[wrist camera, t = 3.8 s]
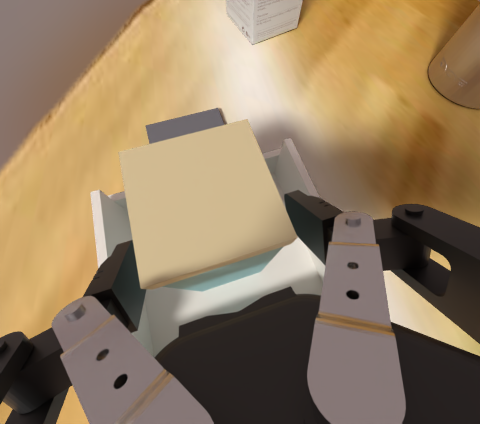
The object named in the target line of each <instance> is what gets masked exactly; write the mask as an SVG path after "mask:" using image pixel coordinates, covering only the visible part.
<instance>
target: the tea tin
mask: <svg viewBox="0 0 480 424" xmlns="http://www.w3.org/2000/svg"><path fill="white" fill-rule="evenodd" d="M118 153H119V159H120V165H121V171H122V177H123V184H124V190H125V196H126V202H127V208H128V214H129V220H130V226H131V233H132V239H133V245H134V251H135V257H136V263H137V269H138V276H139V282H140V288H141V289H150V290H153V289H156V288H159V287H168V288H176V289H185V290H193V291H201V292H203V291H206V290H209V289H212V288H215V287H217V286H220V285H223V284H226V283H229V282H232V281H235V280H238V279H241V278H244V277H247V276H250V275H253V274H256V273H259V272H261V271H262V270H263V269H264V268H265V267H266V265H267V264H268V263H269V262H270V261H271V260H272V259H273V258H274V257H275V256H276V254H277V253H278V252H279V251H280V250H281V249H282V248H283V247H284V246H287V245H290V244H292V243H293V242H294V241H295V240H296V239H297V238H298V237H297V235H296V232H295V230H294V228H293V225H292V223H291V221H290V218H289V216H288V213H287V211H286V209H285V206H284V204H283V202H282V199H281V197H280V195H279V192H278V190H277V188H276V185H275V183H274V181H273V178H272V176H271V174H270V171H269V169H268V166H267V164H266V162H265V159H264V157H263V155H262V152H261V150H260V148H259V145H258V143H257V141H256V138H255V136H254V134H253V131H252V129H251V126H250V124H249V122H248V119H246V120H242V121H238V122H234V123H230V124H226V125H222V126H218V127H214V128H210V129H207V130H203V131H199V132H195V133H191V134H187V135H183V136H179V137H175V138H171V139H167V140H163V141H159V142H156V143H152V144H148V145H144V146H140V147H136V148H132V149H128V150H124V151H120V152H118Z"/></svg>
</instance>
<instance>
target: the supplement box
mask: <svg viewBox="0 0 480 424" xmlns="http://www.w3.org/2000/svg"><path fill="white" fill-rule="evenodd" d="M302 1H303V0H226V11H227V15H228V17H229V18H230V19H231V20H232V22H233V23H234V24H235V25H236V26H237V28H238V29H239V30H240V31H241V32H242V34H243V35H244V36H245V37H246V38H247V40H248V41H249V42H250V43H251V44H252V45H253V44H256V43H258V42H261V41H263V40H266V39H269V38H271V37H274V36H277V35H279V34H282V33H285V32H287V31H290V30H292V29H295V28H297V25H298V20H299V16H300V11H301V6H302Z"/></svg>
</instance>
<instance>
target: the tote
mask: <svg viewBox="0 0 480 424" xmlns="http://www.w3.org/2000/svg"><path fill="white" fill-rule="evenodd" d="M262 155H263V157H264V159H265V162H266V164H267V166H268V169H269V171H270V174H271V176H272V178H273V181H274V183H275V185H276V188H277V190H278V192H279V195H280V197H281V199H282V202H283V204H284V206H285V201H284V195H285V194H286V193H289V192H293V191H296V190H300V191H301V192H303V193H304V194H306V195H307V196H310V195H311V196H315V197H319V198H320V196H319V194H318V192H317V190H316V188H315V186H314V184H313V182H312V180H311V178H310V176H309V174H308V172H307V170H306V168H305V166H304V164H303V162H302V160H301V157H300V155H299V153H298V151H297V149H296V147H295V145H294V143H293V141H292V139H291V138H288V139H285V140H283V144H282V147H281V148H280V149H276V150H272V151H269V152H265V153H262ZM91 202H92V211H93V221H94V230H95V240H96V249H97V259H98V269H99V267H100V265H101V264H102V263H103V262H104V261H105V260H106V259H107V258H108V257H110V256H111V255H112V253H113V251H114V249H115V247H116V245H117V244H120V243H124V242H127V241H130V240H133V239H132V233H131V226H130V220H129V214H128V208H127V202H126V196H125V191H124V192H120V193H116V194H113V195H109V196H107V195H105V194H104V193H103V192H102V191H100V190H96V191H93V192H91ZM285 209H286V207H285ZM297 237H298V236H297ZM324 273H325V265H324V264H323V263H322V262H321V261H320V260H319V259H318V258H317V256H316V255H315V254H314V253H313V252H312V251H311V250H310V249H309V248H308V247H307V246H306V245H305V244H304V243H303V242H302V241H301V240H300V239H299V237H298V238H297V239H296V240H295V241H294V242H293V243H292V244H290V245H287V246H284V247H283V248H282V249H281V250H280V251H279V252H278V253H277V254H276V256H275V257H274V258H273V259H272V260H271V261H270V262H269V263H268V264H267V265H266V267H265V268H264V269H263V270H262V271H261V272H259V273H256V274H253V275H250V276H247V277H244V278H241V279H238V280H235V281H232V282H229V283H226V284H223V285H220V286H217V287H215V288H212V289H209V290H206V291H203V292H201V291H193V290H185V289H176V288H168V287H159V288H156V289H153V290H150V289H147V290H146V294H145V299H144V304H143V308H142V313H141V318H140V323H139V327H138V331H135V332H133V333H131V334H132V335H133V336H134V337H135V338H136V339H137V340H138V341H139V342H140V343H141V344H142V345H143V347H144V348H145V349H146V350H147V351H148V352H149V353H150V354H151V355H152V356H153V357H155V356H156V355H157V354H158V353H159V352H160V351H161V350H162V349H163V348H164V347H165V346H166V345H168V344H169V343H170V342H172V341H173V340H174V339H176V338H177V337H179V326H180V325H183V324H186V323H189V322H192V321H194V320H197V319H200V318H203V317H206V316H210V315H218V314H225V313H233V312H238V311H240V310H242V309H244V308H245V307H247V306H248V305H250V304H252V303H253V302H255V301H257V300H258V299H260V298H261V297H263V296H265V295H268V294H270V293H273V292H276V291H279V290H282V289H284V288H287V287H290V286H291V287H292V289H293V291H294V292H295V294H315V295H321V293H322V286H323V279H324Z"/></svg>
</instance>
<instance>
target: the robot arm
mask: <svg viewBox="0 0 480 424" xmlns="http://www.w3.org/2000/svg"><path fill="white" fill-rule="evenodd" d="M428 73H429V78H430V80H431V83H432V84H433V86H434V87H435V88H436V89H437V90H438V91H439V92H440V93H441V94H442V95H443V96H445V97H446V98H448V99H449V100H451V101H453V102H455V103H457V104H460V105H462V106H465V107H470V108H475V109H480V4H479V5H478V6H477V7H476V9H475V10H474V11H473V12H472V14H471V15H470V16H469V17H468V18H467V20H466V21H465V22H464V23H463V24H462V26H461V27H460V28H459V29H458V30H457V32H456V33H455V34H454V35H453V36H452V38H451V39H450V40H449V41H448V42H447V44H446V45H445V46H444V47H443V49H442V50H441V51H440V52H439V53H438V55H437V56H436V57H435V58H434V59H433V61H432V62H431V64H430V65H429V69H428ZM284 201H285V207H286V211H287V213H288V216H289V218H290V221H291V223H292V225H293V228H294V230H295V232H296V235H297V236H298V237H299V239H300V240H301V241H302V242H303V243H304V244H305V245H306V246H307V247H308V248H309V249H310V250H311V251H312V252H313V253H314V254H315V255H316V256H317V258H318V259H319V260H320V261H321V262H322V263H323V264H324V265H325V273H324V279H323V286H322V293H321V295H315V294H295V292H294V291H293V289H292V287H291V286H290V287H287V288H284V289H282V290H279V291H276V292H273V293H270V294H268V295H265V296H263V297H261V298H260V299H258V300H257V301H255V302H253V303H252V304H250V305H248V306H247V307H245V308H244V309H242V310H240V311H238V312H233V313H225V314H218V315H210V316H206V317H203V318H200V319H197V320H194V321H192V322H189V323H186V324H183V325H180V326H179V337H177V338H176V339H174V340H173V341H172V342H170V343H169V344H168V345H166V346H165V347H164V348H163V349H162V350H161V351H160V352H159V353H158V354H157V355H156V356H155V357H153V356H152V355H151V354H150V353H149V352H148V351H147V350H146V349H145V348H144V347H143V345H142V344H141V343H140V342H139V341H138V340H137V339H136V338H135V337H134V336H133V335H132V334H131V333H133V332H135V331H138V327H139V323H140V318H141V313H142V308H143V304H144V299H145V294H146V290H147V289H141V288H140V282H139V276H138V269H137V263H136V257H135V251H134V245H133V240H130V241H127V242H124V243H120V244H117V245H116V247H115V249H114V251H113V253H112V255H111V256H110V257H108V258H107V259H106V260H105V261H104V262H103V263H102V264H101V265H100V267H99V269H98V270H97V272H96V273H97V274H95V276H94V278H93V280H92V281H91V283H90V285H89V287H88V288H87V290H86V292H85V294H84V295H83V297H82V298H80V299H77V300H75V301H73V302H72V303H70V304H69V305H67V306H66V307H65V308H63V309H62V310H61V311H60V312H59V313H58V314H57V315H56V317H55V318H54V320H53V322H52V328H50V329H48V330H46V331H44V332H42V333H40V334H39V335H37V336H35V337H33V338H31V339H28V338H27V337H26V336H25V335H24V334H23V333H22V332H13V333H10V334H7V335H5V336H3V337H1V338H0V404H1V403H2V401H3V402H4V403H6V404H7V405H8V406H10V407H11V408H12V409H13V410H12V412H11V414H10V415H9V417H8V419H7V421H6V423H5V424H56V422H57V419H58V416H59V414H60V411H61V408H62V406H63V403H64V400H65V397H66V395H67V392H68V389H69V387H70V386H72V385H73V387H74V389H75V392H76V394H77V396H78V399H79V401H80V403H81V405H82V408H83V410H84V412H85V414H86V417H87V419H88V421H89V423H90V424H480V356H478V355H475V354H472V353H470V352H467V351H465V350H462V349H460V348H457V347H454V346H452V345H449V344H447V343H444V342H442V341H439V340H436V339H434V338H431V337H429V336H426V335H424V334H421V333H418V332H416V331H413V330H411V329H408V328H406V327H403V326H400V325H398V324H395V323H393V322H390V315H389V309H388V302H387V295H386V288H385V282H384V275H383V271H386V270H391V271H392V272H393V273H394V274H395V275H397V276H398V277H399V278H400V279H401V280H403V281H404V282H405V283H406V284H408V285H409V286H410V287H411V288H412V289H414V290H415V291H416V292H417V293H418V294H420V295H421V296H422V297H423V298H425V299H426V300H427V301H428V302H429V303H431V304H432V305H433V306H434V307H435V308H437V309H438V310H439V311H440V312H442V313H443V314H444V315H445V316H446V317H448V318H449V319H450V320H451V321H453V322H454V323H455V324H456V325H457V326H459V327H460V328H461V329H462V330H463V331H465V332H466V333H467V334H468V335H470V336H471V337H472V338H473V339H474V340H476V341H477V342H478V343H479V344H480V227H477V226H475V225H472V224H470V223H467V222H465V221H462V220H460V219H458V218H455V217H453V216H450V215H448V214H445V213H443V212H440V211H438V210H436V209H433V208H431V207H428V206H424V205H419V204H404V205H399V206H396V207H395V208H393V210H392V218H387V219H379V220H373V219H372V217H371V216H369V215H368V214H365V213H362V212H345V213H344V212H342V211H341V210H339V209H337V208H336V207H334V206H332V205H330V204H329V203H327V202H325V201H324V200H322V199H321V198H319V197H315V196H311V195H310V196H307V195H306V194H304V193H303V192H301V191H300V190H296V191H293V192H289V193H286V194H285V195H284ZM431 249H433V250H434V251H436V252H438V253H439V254H441V255H443V256H444V257H445V258H446V259H447V260H448V262H449V263H450V266H451V271H450V270H448V269H446V268H445V267H443V266H442V265H440V264H438V263H437V262H435V261H434V260H432V259H430V253H431Z"/></svg>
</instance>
